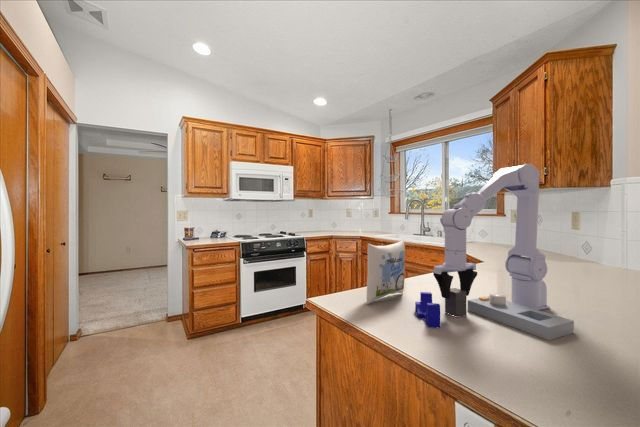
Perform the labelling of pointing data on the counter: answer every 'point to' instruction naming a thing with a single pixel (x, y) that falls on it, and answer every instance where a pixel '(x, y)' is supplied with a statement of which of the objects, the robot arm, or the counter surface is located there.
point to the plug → (456, 302)
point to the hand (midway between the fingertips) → (455, 296)
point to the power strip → (521, 316)
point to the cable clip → (428, 310)
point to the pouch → (385, 270)
